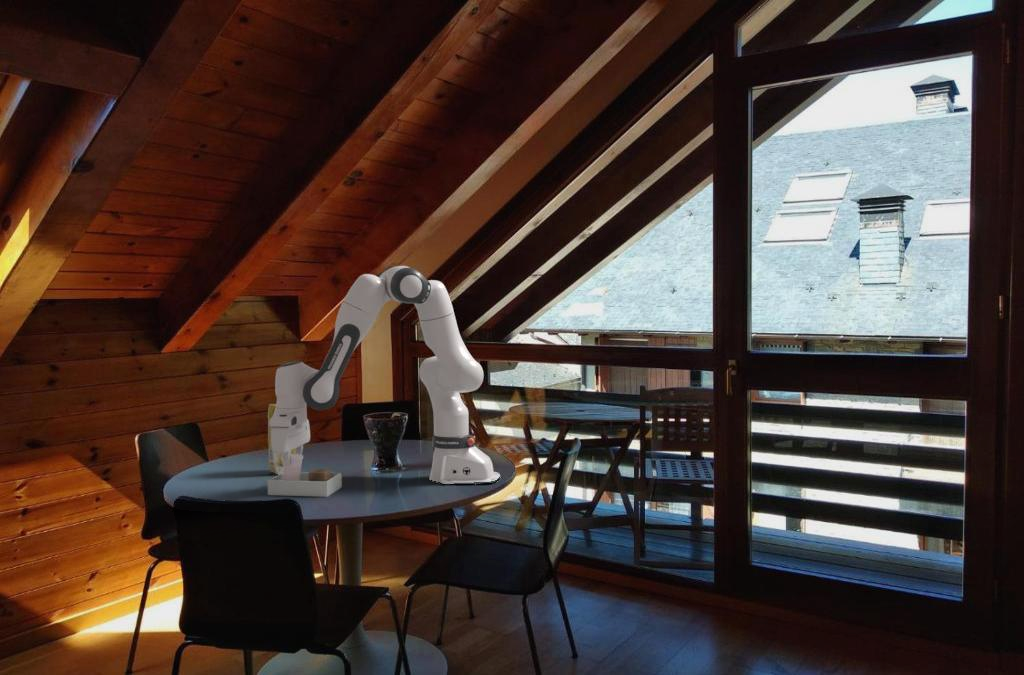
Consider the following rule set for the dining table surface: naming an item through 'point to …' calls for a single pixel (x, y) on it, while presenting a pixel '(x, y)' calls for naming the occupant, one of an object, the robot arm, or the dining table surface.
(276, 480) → the crate
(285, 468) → the smoothie
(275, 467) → the juice carton
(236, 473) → the dining table surface
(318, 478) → the walnut block
